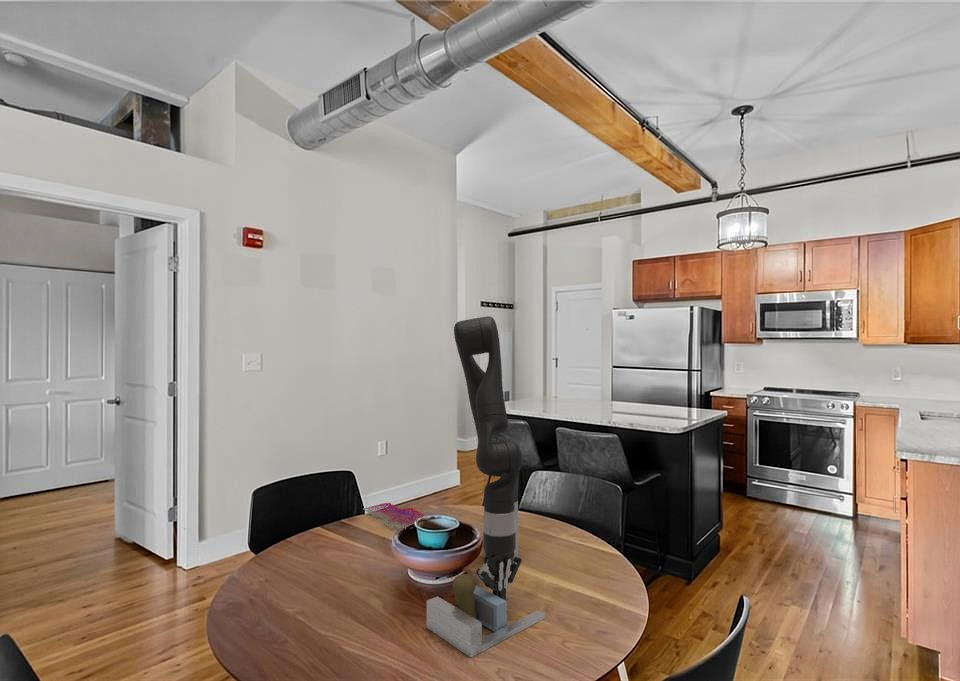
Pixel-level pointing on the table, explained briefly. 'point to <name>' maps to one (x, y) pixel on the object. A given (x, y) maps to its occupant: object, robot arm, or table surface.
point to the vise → (470, 627)
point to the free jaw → (490, 609)
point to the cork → (465, 594)
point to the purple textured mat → (394, 514)
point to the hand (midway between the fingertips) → (499, 604)
